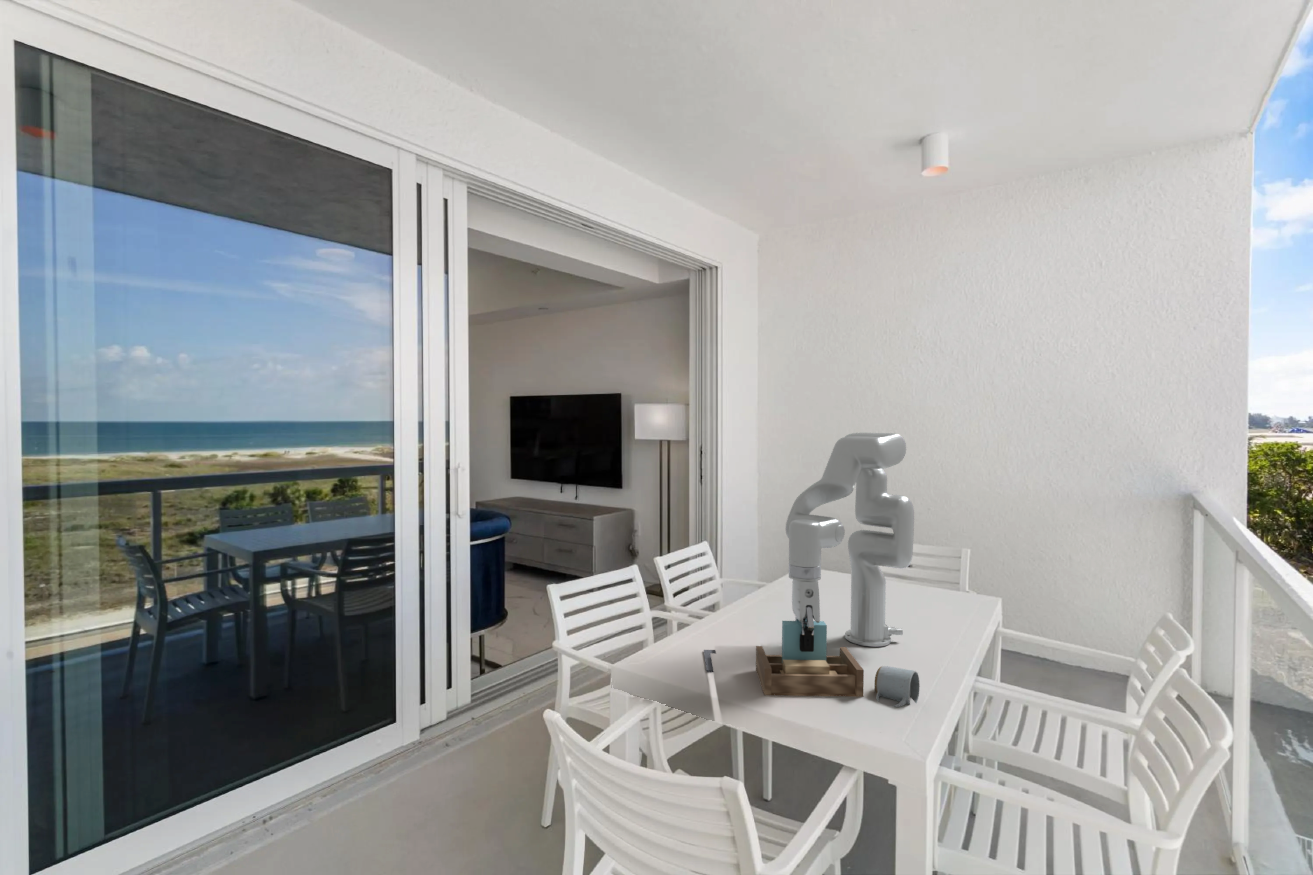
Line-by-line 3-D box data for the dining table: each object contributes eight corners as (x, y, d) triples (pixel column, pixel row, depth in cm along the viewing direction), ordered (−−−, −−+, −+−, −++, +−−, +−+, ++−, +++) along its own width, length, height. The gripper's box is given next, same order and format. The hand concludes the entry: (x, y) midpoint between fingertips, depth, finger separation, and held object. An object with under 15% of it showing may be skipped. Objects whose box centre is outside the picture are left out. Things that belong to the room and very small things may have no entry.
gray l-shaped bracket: (762, 652, 168) (762, 650, 168) (770, 672, 154) (770, 670, 154) (703, 651, 168) (703, 649, 168) (706, 672, 154) (706, 670, 154)
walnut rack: (845, 677, 151) (845, 647, 151) (863, 703, 137) (863, 669, 137) (755, 675, 152) (756, 645, 152) (764, 701, 138) (764, 668, 138)
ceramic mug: (883, 690, 144) (883, 658, 144) (920, 700, 139) (920, 666, 139) (867, 707, 136) (867, 673, 136) (905, 718, 131) (906, 683, 130)
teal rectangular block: (823, 674, 150) (823, 621, 149) (826, 679, 147) (826, 625, 146) (781, 673, 150) (782, 620, 149) (784, 678, 147) (784, 624, 146)
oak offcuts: (835, 683, 144) (835, 660, 144) (839, 690, 140) (839, 666, 140) (779, 682, 145) (779, 659, 144) (782, 689, 141) (782, 665, 140)
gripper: (829, 580, 139) (828, 660, 139) (812, 563, 156) (811, 634, 156) (796, 580, 139) (795, 660, 140) (782, 563, 156) (781, 634, 157)
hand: (804, 645), depth 148 cm, fingers open, 5 cm apart
